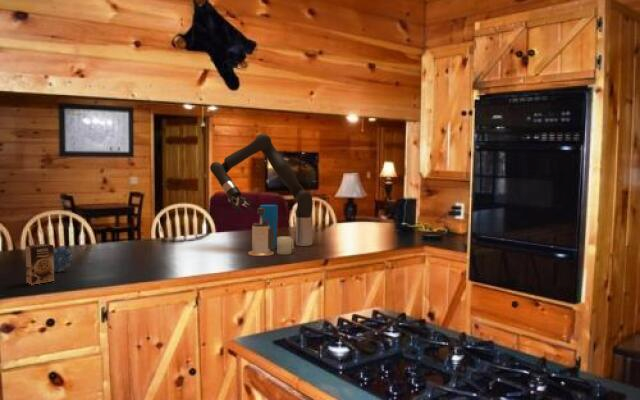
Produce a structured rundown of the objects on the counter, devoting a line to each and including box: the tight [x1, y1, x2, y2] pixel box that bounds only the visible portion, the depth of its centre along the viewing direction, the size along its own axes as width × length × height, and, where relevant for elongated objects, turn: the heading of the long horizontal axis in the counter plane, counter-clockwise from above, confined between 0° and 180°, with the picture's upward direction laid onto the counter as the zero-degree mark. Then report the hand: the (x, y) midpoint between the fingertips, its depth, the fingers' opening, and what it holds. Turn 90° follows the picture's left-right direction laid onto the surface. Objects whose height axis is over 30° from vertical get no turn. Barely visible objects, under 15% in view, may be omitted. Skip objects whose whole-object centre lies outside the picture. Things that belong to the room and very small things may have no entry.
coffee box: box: [25, 243, 55, 286], centre depth 228 cm, size 9×6×16 cm
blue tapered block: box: [259, 204, 279, 249], centre depth 321 cm, size 11×11×25 cm
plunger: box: [257, 207, 265, 224], centre depth 299 cm, size 5×5×22 cm
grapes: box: [53, 245, 74, 273], centre depth 249 cm, size 12×7×12 cm, turn 120°
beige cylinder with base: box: [247, 222, 275, 257], centre depth 299 cm, size 14×14×17 cm
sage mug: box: [276, 235, 295, 255], centre depth 303 cm, size 9×8×9 cm
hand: (246, 211), depth 305 cm, fingers open, 8 cm apart
